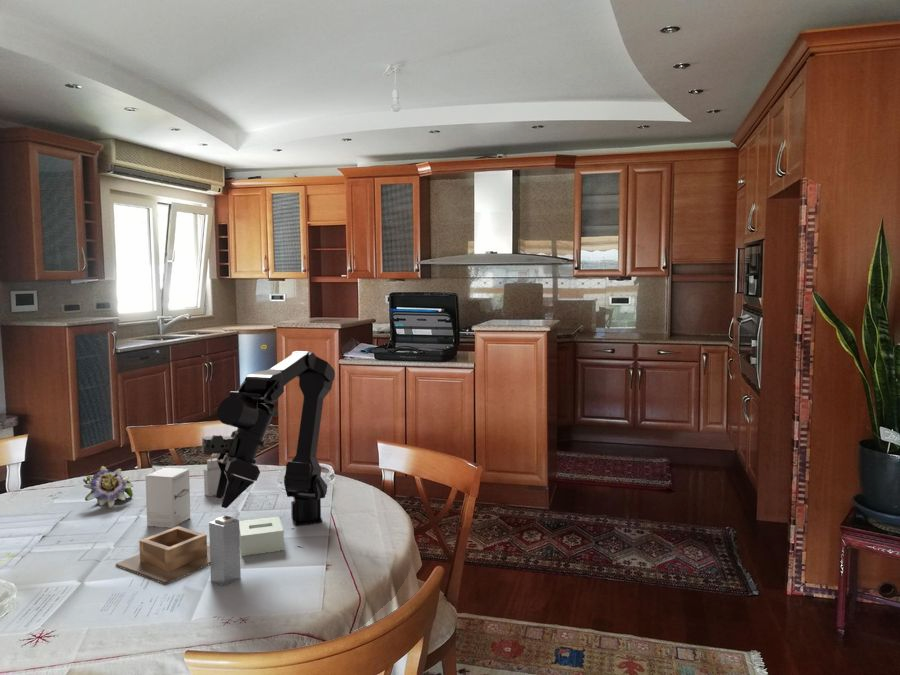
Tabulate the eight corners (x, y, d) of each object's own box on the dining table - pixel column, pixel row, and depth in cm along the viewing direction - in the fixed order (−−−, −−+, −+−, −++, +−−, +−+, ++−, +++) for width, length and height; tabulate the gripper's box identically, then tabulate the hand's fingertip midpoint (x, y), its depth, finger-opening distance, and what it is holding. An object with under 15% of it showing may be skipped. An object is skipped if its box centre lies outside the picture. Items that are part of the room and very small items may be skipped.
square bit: (226, 573, 134) (225, 513, 133) (240, 578, 132) (239, 517, 131) (210, 581, 131) (208, 519, 130) (224, 586, 129) (222, 523, 128)
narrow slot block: (279, 535, 154) (279, 516, 154) (283, 550, 146) (283, 530, 145) (239, 540, 151) (238, 521, 151) (241, 555, 143) (240, 535, 142)
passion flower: (111, 527, 173) (85, 499, 165) (92, 510, 179) (66, 483, 171) (147, 495, 179) (124, 467, 171) (128, 480, 185) (104, 453, 177)
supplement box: (173, 528, 158) (171, 477, 156) (146, 526, 159) (144, 475, 158) (191, 517, 165) (190, 468, 164) (165, 515, 166) (163, 466, 165)
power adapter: (227, 492, 184) (226, 450, 183) (208, 496, 180) (207, 453, 179) (222, 489, 187) (221, 448, 185) (203, 494, 183) (202, 451, 182)
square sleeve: (181, 539, 151) (181, 518, 151) (230, 555, 143) (229, 532, 143) (115, 565, 137) (114, 542, 137) (165, 584, 129) (164, 559, 129)
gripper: (209, 414, 145) (179, 482, 142) (220, 423, 128) (186, 500, 125) (257, 431, 149) (228, 497, 147) (273, 442, 133) (242, 517, 130)
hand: (220, 502), depth 137 cm, fingers open, 9 cm apart
